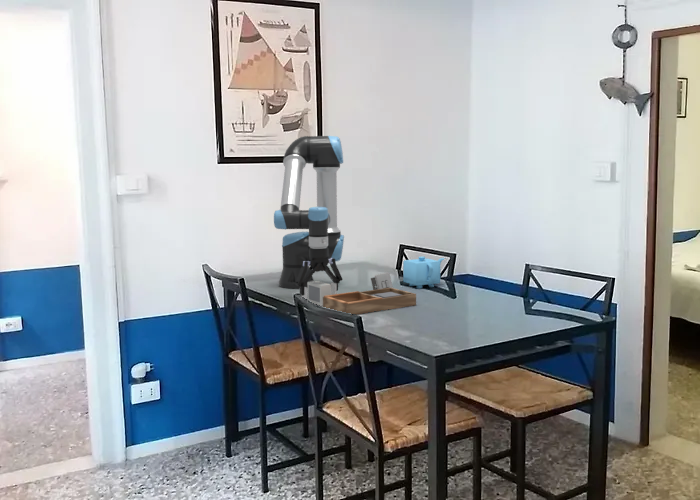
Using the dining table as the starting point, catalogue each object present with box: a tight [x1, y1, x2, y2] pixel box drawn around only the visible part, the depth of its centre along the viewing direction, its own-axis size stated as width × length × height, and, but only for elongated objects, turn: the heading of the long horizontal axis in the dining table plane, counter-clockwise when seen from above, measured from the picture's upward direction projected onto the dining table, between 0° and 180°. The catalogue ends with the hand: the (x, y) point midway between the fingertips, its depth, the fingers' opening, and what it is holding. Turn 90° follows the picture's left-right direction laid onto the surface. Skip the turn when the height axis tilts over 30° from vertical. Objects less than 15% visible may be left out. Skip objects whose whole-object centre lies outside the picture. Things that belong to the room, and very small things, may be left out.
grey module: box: [372, 292, 401, 298], centre depth 292 cm, size 9×10×4 cm
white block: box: [307, 280, 331, 307], centre depth 296 cm, size 10×5×8 cm, turn 34°
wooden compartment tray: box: [322, 287, 417, 316], centre depth 289 cm, size 16×32×5 cm, turn 124°
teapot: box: [402, 255, 446, 289], centre depth 331 cm, size 18×16×13 cm
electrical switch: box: [370, 271, 394, 290], centre depth 311 cm, size 9×5×9 cm, turn 141°
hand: (319, 301), depth 296 cm, fingers open, 13 cm apart
